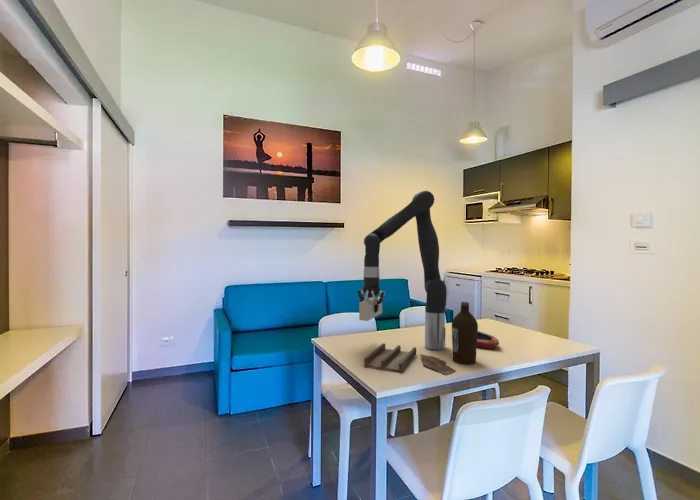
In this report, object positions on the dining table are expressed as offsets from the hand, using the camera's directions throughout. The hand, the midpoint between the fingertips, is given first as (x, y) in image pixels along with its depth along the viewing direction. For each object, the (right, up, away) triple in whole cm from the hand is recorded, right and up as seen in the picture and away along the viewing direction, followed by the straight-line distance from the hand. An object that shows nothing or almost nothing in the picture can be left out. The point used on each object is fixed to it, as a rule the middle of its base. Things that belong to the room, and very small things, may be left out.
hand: (371, 311), depth 169 cm
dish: (+53, -18, +11) cm, 57 cm away
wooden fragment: (+25, -18, -22) cm, 38 cm away
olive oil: (+38, -18, -18) cm, 46 cm away
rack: (+7, -17, -19) cm, 27 cm away
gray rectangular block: (0, -2, 0) cm, 2 cm away
